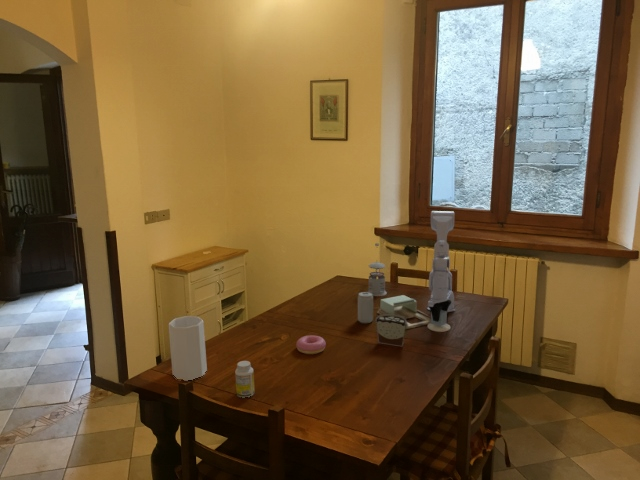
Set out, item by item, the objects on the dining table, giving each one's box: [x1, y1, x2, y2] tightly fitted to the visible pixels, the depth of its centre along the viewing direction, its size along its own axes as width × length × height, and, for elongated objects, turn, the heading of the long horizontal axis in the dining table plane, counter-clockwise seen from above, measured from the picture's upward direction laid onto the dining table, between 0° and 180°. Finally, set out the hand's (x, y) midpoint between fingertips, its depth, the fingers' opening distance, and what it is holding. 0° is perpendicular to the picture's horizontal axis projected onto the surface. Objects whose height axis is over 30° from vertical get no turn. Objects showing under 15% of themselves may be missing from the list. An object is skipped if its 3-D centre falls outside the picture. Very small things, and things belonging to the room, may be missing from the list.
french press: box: [367, 242, 388, 297], centre depth 252 cm, size 10×12×25 cm
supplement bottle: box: [234, 360, 256, 399], centre depth 159 cm, size 6×6×10 cm
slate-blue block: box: [430, 310, 448, 326], centre depth 208 cm, size 4×4×5 cm
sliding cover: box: [379, 294, 418, 314], centre depth 224 cm, size 12×10×6 cm
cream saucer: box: [427, 323, 451, 333], centre depth 209 cm, size 9×9×1 cm
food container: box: [374, 314, 408, 348], centre depth 195 cm, size 12×6×10 cm, turn 65°
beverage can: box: [357, 291, 374, 324], centre depth 216 cm, size 6×6×12 cm
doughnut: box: [295, 334, 327, 355], centre depth 191 cm, size 11×11×4 cm
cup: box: [168, 315, 208, 382], centre depth 172 cm, size 11×11×18 cm
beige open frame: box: [376, 306, 431, 330], centre depth 220 cm, size 15×21×2 cm
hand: (439, 319), depth 208 cm, fingers closed on slate-blue block, 4 cm apart
